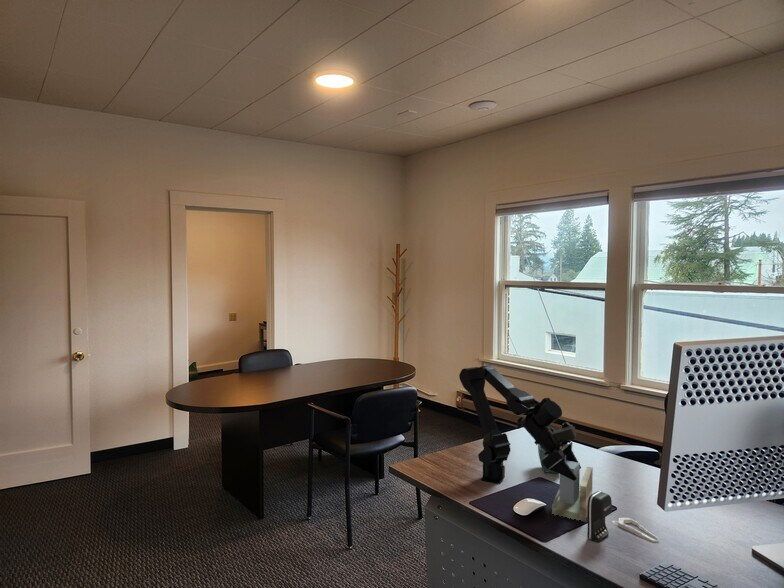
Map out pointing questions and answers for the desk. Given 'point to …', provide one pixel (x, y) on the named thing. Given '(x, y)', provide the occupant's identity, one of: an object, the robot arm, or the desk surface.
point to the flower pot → (541, 456)
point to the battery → (598, 515)
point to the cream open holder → (581, 505)
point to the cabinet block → (570, 484)
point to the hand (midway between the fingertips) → (577, 474)
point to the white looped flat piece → (628, 520)
